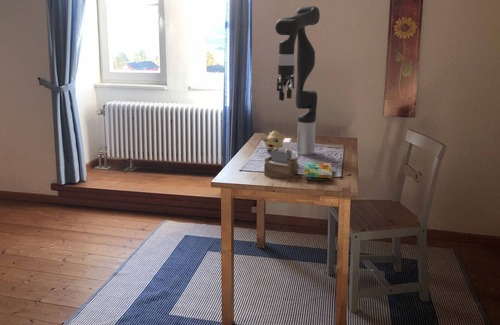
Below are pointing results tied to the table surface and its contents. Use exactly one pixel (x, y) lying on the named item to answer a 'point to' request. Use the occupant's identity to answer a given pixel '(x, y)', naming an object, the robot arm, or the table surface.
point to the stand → (280, 168)
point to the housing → (281, 155)
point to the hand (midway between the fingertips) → (285, 99)
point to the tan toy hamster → (273, 140)
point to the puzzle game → (318, 171)
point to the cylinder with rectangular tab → (288, 146)
